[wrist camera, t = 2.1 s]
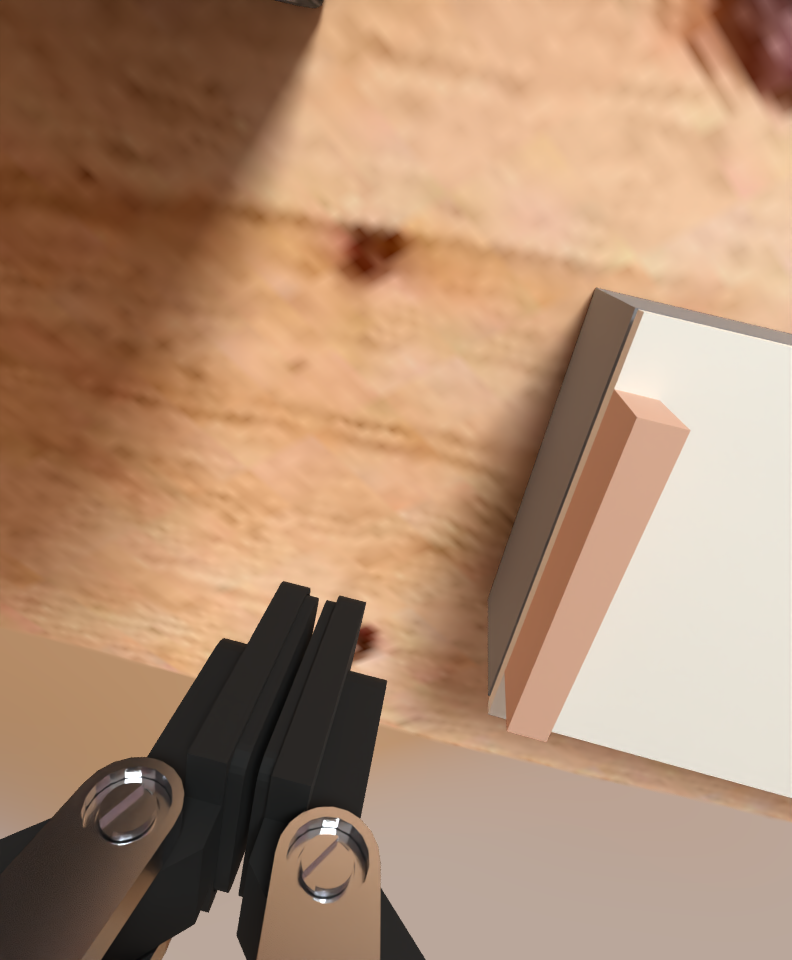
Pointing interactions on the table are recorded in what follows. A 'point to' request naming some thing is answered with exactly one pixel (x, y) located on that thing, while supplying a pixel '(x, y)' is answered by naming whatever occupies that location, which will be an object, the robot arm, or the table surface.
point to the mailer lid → (671, 566)
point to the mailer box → (573, 450)
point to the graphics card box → (304, 3)
